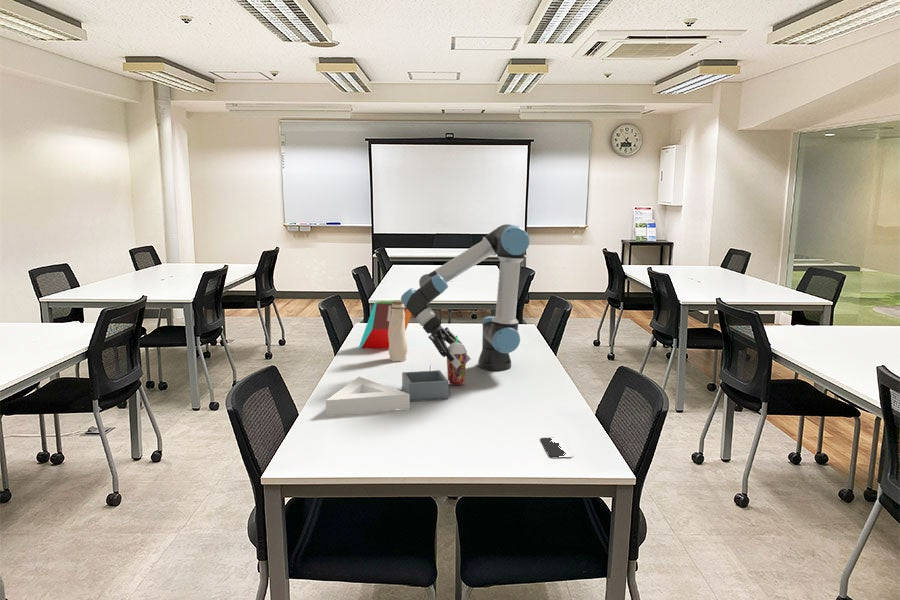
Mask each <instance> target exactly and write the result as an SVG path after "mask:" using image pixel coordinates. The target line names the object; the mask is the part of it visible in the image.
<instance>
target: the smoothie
mask: <svg viewBox="0 0 900 600" xmlns="http://www.w3.org/2000/svg"><path fill="white" fill-rule="evenodd" d="M455 337H456V342H454V343H452V344H448V346H447V347H448V349H449V351H450V352H452V353H453V354H454V356H455V357H456V358H457V359H458V361H459V362H460V363H461V365H460V366H459V367H458V368H457V369H456V368H455V366H454V365H453V364H452V363H451V361H450V360H449V359H448V358H447V357H446V367H447V369H446V370H447V380H448V381H449V385H453V386H461V385H463V384H464V381H465V379H466V377H465V376H466V365H467V363H466V354H467V355H468V351H467V349H466V347H465V345H464V344H463V342H461V343H459V342H457V339H458V335H455ZM450 352H449V353H450Z"/></svg>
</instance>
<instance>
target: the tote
mask: <svg viewBox="0 0 900 600" xmlns="http://www.w3.org/2000/svg"><path fill="white" fill-rule="evenodd" d="M401 373H402V374H401V376H402V378H401V379H402V380H401V382H402V383H401V384H402V386H401V389H402V390H401V391H402V392H405V393H408V394H410V401H411V402H422V401H421V400H426V401H438V400H437V399H441V400H448V399H449V385H450V383H449V381H448V378H446V376H445V375H444V373H442V372H441V370H440V369H438V370H424V371H423V370H422V371H421V370H420V371H406V372H405V371H402V372H401Z"/></svg>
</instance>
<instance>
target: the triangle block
mask: <svg viewBox="0 0 900 600" xmlns="http://www.w3.org/2000/svg"><path fill="white" fill-rule="evenodd" d="M409 408H410V394H408V393H405V392H403V390H399V389H395V388H394V387H390V386H388V385H384V384H382V383H379V382H375V381H372V380H371V379H367V378H364V377H361V376H357V378H355V379H353V380H352V381H351V382H349V383H348V384H347V385H345V386H344V387H342V388H341V389H340V390H338V391H337V392H336V393H333V395H331V396H330V397H329V398H327V399H326V400H325V414H326V415H325V416H326V417H330V415H333V416H341V414H345V415H353V414H352V413H357V414H366V413H365V412H369V413H376V412H375V411H381V412H387V411H386V410H393V411H397V410H396V409H406V410H410V409H409Z"/></svg>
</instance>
